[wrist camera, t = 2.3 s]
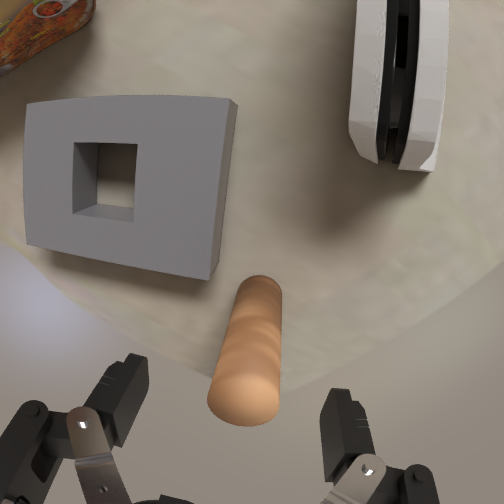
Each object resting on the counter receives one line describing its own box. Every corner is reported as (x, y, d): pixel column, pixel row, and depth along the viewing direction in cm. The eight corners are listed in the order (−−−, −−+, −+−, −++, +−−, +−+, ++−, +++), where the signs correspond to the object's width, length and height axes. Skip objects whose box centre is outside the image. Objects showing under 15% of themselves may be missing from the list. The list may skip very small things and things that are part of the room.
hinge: (429, 177, 18) (462, 190, 9) (361, 159, 19) (335, 155, 11) (442, -30, 12) (449, -114, 3) (380, -42, 13) (357, -129, 5)
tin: (-13, 89, 17) (-82, 91, 10) (-13, 61, 16) (-79, 57, 9) (118, 13, 15) (46, -29, 8) (116, -18, 14) (52, -64, 6)
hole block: (237, 105, 17) (229, 98, 14) (218, 261, 21) (209, 280, 18) (53, 104, 18) (26, 103, 15) (50, 232, 21) (26, 244, 18)
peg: (285, 279, 21) (285, 385, 11) (277, 317, 22) (272, 430, 12) (240, 272, 21) (208, 373, 12) (235, 310, 22) (205, 419, 13)
